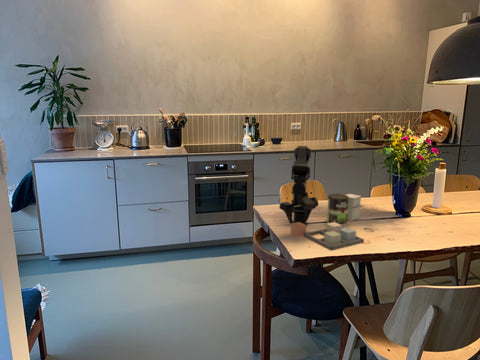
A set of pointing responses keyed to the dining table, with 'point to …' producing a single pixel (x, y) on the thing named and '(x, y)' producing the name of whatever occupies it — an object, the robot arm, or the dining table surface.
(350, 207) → the supplement box
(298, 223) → the terracotta block
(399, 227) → the dining table surface
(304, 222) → the robot arm
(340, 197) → the coffee can
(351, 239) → the charcoal frame
